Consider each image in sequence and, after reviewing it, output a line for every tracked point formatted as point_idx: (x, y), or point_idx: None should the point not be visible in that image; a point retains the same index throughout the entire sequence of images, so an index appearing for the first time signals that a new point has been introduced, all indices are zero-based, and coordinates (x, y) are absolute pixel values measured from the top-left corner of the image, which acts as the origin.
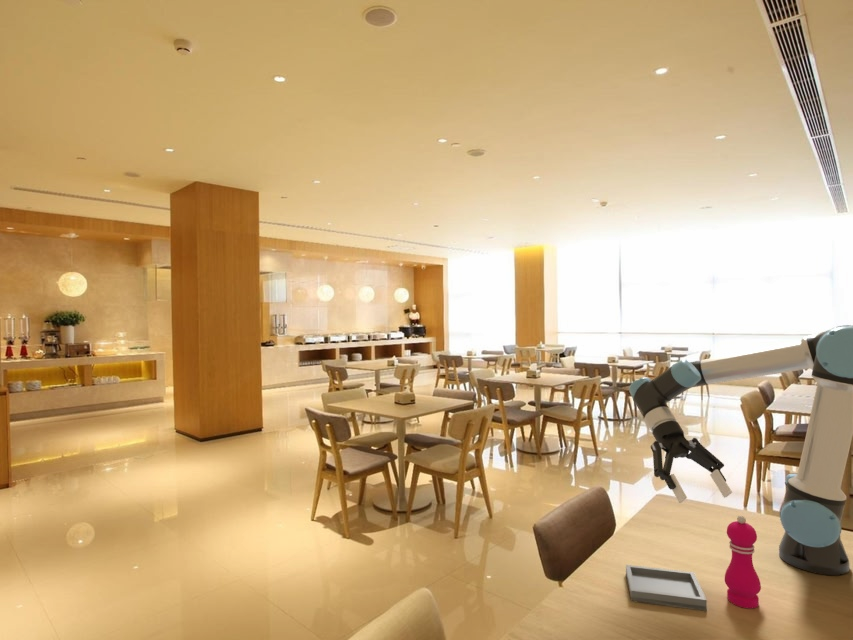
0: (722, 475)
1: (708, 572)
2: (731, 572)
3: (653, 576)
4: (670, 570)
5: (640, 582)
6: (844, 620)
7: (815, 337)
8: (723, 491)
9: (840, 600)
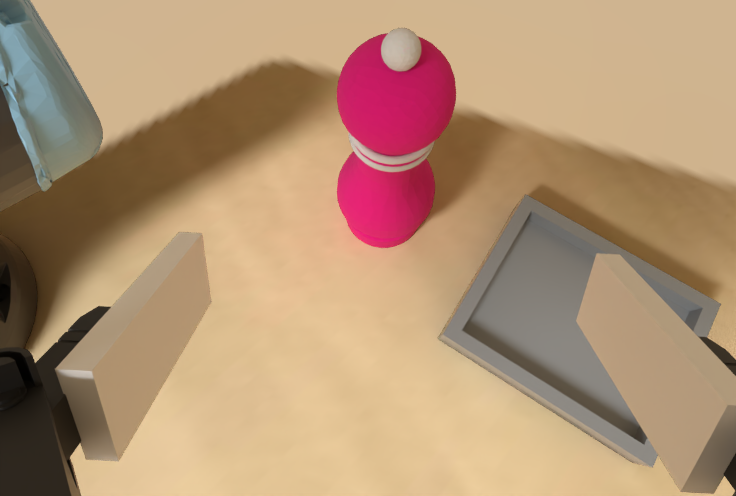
0: (64, 345)
1: (339, 376)
2: (429, 178)
3: (565, 391)
4: (513, 371)
5: None
6: (225, 83)
7: None
8: (195, 296)
9: (133, 140)
